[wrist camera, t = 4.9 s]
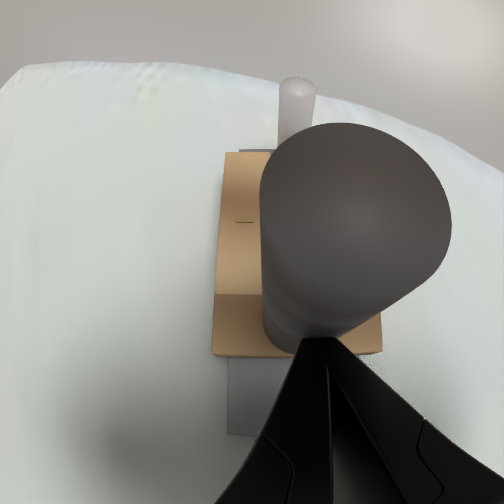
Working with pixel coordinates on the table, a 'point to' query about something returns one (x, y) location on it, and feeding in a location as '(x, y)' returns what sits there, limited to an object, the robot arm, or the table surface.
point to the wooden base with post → (323, 240)
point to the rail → (267, 369)
